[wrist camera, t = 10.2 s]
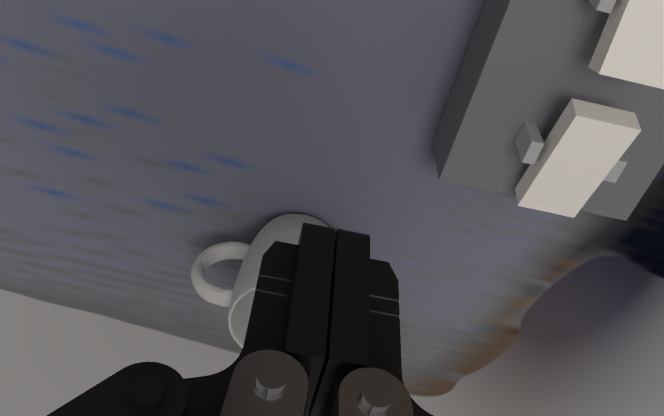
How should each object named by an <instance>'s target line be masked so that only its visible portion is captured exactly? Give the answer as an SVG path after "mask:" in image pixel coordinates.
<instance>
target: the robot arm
mask: <svg viewBox="0 0 664 416" xmlns="http://www.w3.org/2000/svg"><path fill="white" fill-rule="evenodd" d="M398 301H399V290H398V279H397V278H396V276H395V274H394V272H393V270H392V268H391V266H390V264H389V262H385V261H380V260H374V259H370V236H369V235H367V234H362V233H356V232H351V231H346V230H341V229H337V231H336V233H335V228H330V227H325V226H320V225H315V224H310V223H305V222H303V225H302V229H301V233H300V237H299V241H298V245H296V244H290V243H285V242H280V241H275V242H274V243H273V244H272V245H271V246H270V248H269V249H268V250H267V251H266V252H265V253H264V254H263V256H262V261H261V266H260V270H259V275H258V280H257V284H256V289H255V294H254V299H253V303H252V308H251V313H250V317H249V322H248V327H247V331H246V336H245V341H244V346H243V349H242V352H241V353H240V355H239V357H238V358H237V360H236V361H235V362H234V363H233V364H232V365H231V366H229V367H228V368H226V369H225V370H223V371H221V372H219V373H216V374H213V375H209V376H203V377H195V378H186V379H183V378H182V377H181V375H180V374H179V373H178V372H177V371H176V370H174V369H173V368H171V367H169V366H167V365H164V364H161V363H157V362H141V363H137V364H133V365H130V366H127V367H125V368H123V369H122V370H120V371H118V372H117V373H115V374H114V375H112V376H110V377H109V378H107V379H105V380H104V381H102V382H100V383H99V384H97V385H96V386H94V387H92V388H91V389H89V390H87V391H86V392H84V393H83V394H81V395H79V396H78V397H76V398H75V399H73V400H71V401H70V402H68V403H67V404H65V405H63V406H62V407H60V408H58V409H57V410H55V411H53V412H52V413H50V414H49V415H47V416H433V415H431V414H429V413H427V412H426V411H424V410H423V409H422V408H421V407H419V406H418V405H417V404H416V403H415V402H414V400H413V399H412V398H411V397H410V395H409V392H408V390H407V389H406V387H405V386H404V383H403V380H402V369H401V343H400V319H399V303H398Z"/></svg>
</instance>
